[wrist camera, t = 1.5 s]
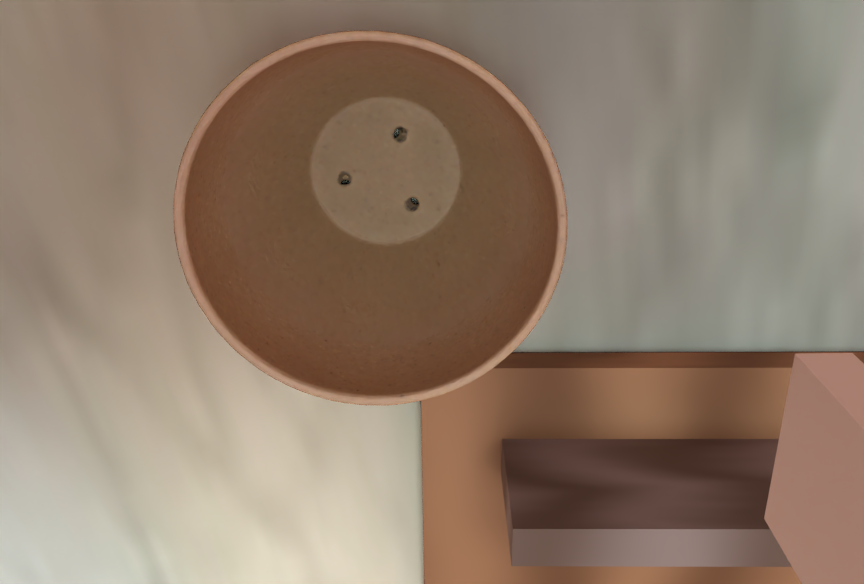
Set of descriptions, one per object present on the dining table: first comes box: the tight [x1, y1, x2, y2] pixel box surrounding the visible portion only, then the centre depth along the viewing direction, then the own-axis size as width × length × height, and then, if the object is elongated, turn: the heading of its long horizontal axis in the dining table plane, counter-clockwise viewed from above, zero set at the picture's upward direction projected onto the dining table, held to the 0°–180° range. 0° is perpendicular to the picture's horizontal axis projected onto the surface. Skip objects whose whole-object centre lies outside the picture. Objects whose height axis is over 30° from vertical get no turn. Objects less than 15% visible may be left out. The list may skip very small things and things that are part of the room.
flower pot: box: [173, 31, 567, 405], centre depth 23 cm, size 10×10×7 cm
